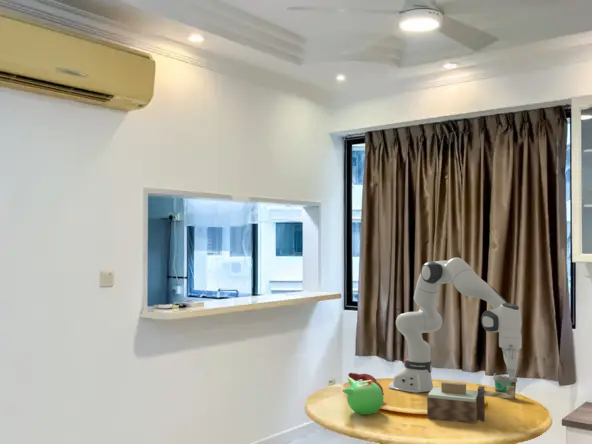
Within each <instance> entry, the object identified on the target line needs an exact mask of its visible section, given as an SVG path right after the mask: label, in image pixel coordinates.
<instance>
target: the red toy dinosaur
mask: <svg viewBox="0 0 592 444" xmlns="http://www.w3.org/2000/svg"><path fill="white" fill-rule="evenodd" d="M348 377H350V378H352V379H353V380H355V381H357V382H359V381H367V380H372V381H371V382H374V383H375V384H377V385H378V386H379V387H380V389H381V390H382V393H383V396H384V395H385V394H384V389H383V387H382V385H381V384H380V383H379V382H377V379H376V378H375V377H374V376H373V375H371V374H367V373H357V372H349V373H348Z"/></svg>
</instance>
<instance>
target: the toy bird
mask: <svg viewBox="0 0 592 444" xmlns="http://www.w3.org/2000/svg"><path fill="white" fill-rule="evenodd" d="M347 381H348V383H349V385H350V387H348V388H343V389H342V392H343V393H345V394H346V401H347V404H348V406H349V408H350V409H351V410H352V411H353V412H354V413H357V414H359V415H366V416H367V415H371V414H375V413H376V412H378V411H379V410H380V409H381V408H382V406H383V403H384V395H383V393H384V392H383V393H382V390H381V389H380V387H379V386H378V385H377V384H375V383H374V382H371V381H372V380H367V381H363V380H359V381H355V380H353V379H352V378H350V377H349V376H348V377H347Z"/></svg>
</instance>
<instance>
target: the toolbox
mask: <svg viewBox="0 0 592 444" xmlns="http://www.w3.org/2000/svg"><path fill="white" fill-rule="evenodd" d="M477 391H478V398H477V400H476V402H469V401H459V400H449V399H440V398H430V397H428V396H426V397H427V398H426V401H427V402H426V403H427V405H426V406H427V407H426V408H427V409H426V411H427V417H426V418H427V419H428V420H437V421H445V422H451V423H452V422H453V423H462V424H470V425H477V424H478V421H480V422H484V421H485V419H486V409H485V405H486V404H485V403H486V402H485V397H486V396H483V391H485V386H483V385H482V386H481V385H479V386H478V387H477Z"/></svg>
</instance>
